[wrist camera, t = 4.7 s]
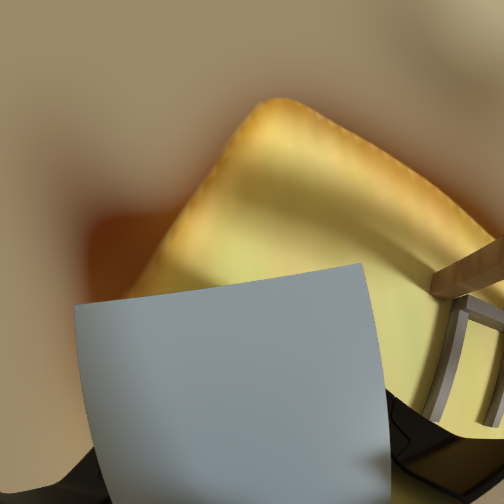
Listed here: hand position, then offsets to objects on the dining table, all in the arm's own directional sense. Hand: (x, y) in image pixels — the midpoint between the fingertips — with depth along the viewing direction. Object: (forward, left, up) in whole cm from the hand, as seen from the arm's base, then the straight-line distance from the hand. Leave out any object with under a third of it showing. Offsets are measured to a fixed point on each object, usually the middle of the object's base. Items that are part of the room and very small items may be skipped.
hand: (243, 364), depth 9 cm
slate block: (-1, -1, -7) cm, 7 cm away
